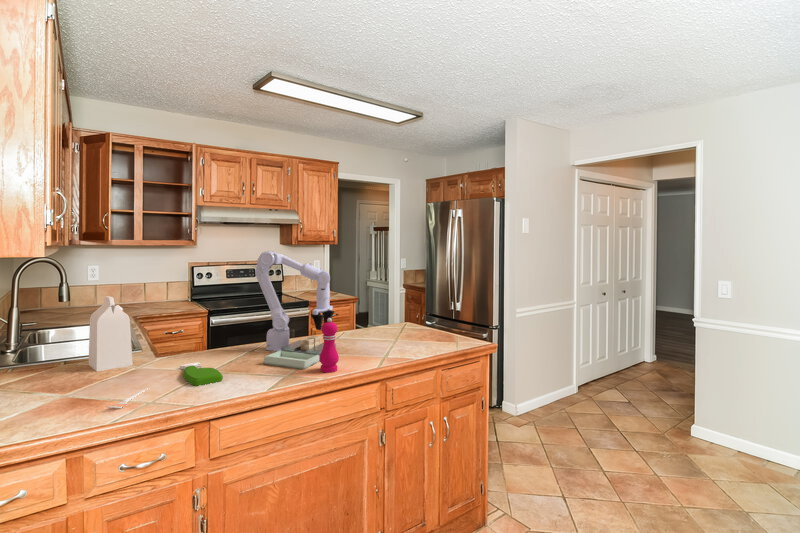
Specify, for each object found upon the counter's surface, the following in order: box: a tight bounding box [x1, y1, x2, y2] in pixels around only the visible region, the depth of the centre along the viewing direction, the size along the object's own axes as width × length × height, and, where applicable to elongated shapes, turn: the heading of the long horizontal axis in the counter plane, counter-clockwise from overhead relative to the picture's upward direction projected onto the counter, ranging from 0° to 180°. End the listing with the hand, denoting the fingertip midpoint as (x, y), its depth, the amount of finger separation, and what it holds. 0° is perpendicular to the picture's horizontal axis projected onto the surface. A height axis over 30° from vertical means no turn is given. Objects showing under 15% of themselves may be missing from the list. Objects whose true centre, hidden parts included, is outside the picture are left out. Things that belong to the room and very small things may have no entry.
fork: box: [106, 387, 149, 409], centre depth 133 cm, size 3×20×2 cm, turn 2°
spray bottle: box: [179, 361, 224, 387], centre depth 157 cm, size 3×11×24 cm
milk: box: [88, 295, 134, 372], centre depth 166 cm, size 12×12×26 cm
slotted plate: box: [281, 339, 337, 358], centre depth 186 cm, size 18×14×4 cm
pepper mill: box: [319, 318, 340, 374], centre depth 165 cm, size 7×7×20 cm
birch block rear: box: [306, 335, 321, 347], centre depth 189 cm, size 4×4×4 cm
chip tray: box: [263, 350, 320, 370], centre depth 174 cm, size 18×11×3 cm, turn 71°
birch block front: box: [300, 337, 314, 350], centre depth 185 cm, size 4×4×4 cm
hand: (322, 328), depth 197 cm, fingers open, 7 cm apart
